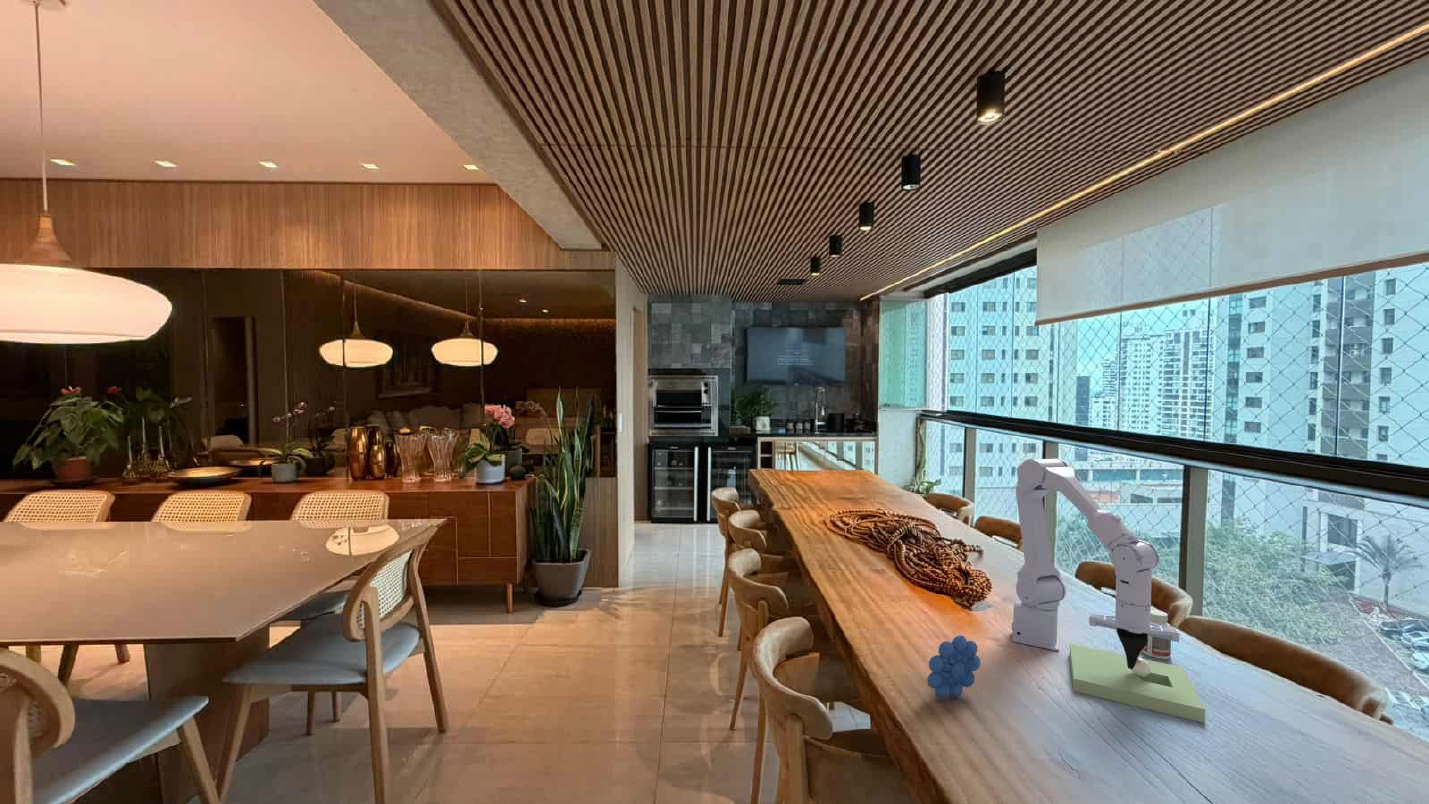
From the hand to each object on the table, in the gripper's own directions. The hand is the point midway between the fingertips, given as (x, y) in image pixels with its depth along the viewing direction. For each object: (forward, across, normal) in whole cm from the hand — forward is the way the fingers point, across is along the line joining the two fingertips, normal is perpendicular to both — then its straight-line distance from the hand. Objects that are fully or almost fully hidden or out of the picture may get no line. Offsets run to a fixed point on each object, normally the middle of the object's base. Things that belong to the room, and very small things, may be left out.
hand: (1131, 667), depth 112 cm
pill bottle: (+4, +7, +20) cm, 22 cm away
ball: (0, +1, 0) cm, 1 cm away
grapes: (+4, -31, -24) cm, 39 cm away
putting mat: (+4, 0, 0) cm, 4 cm away
